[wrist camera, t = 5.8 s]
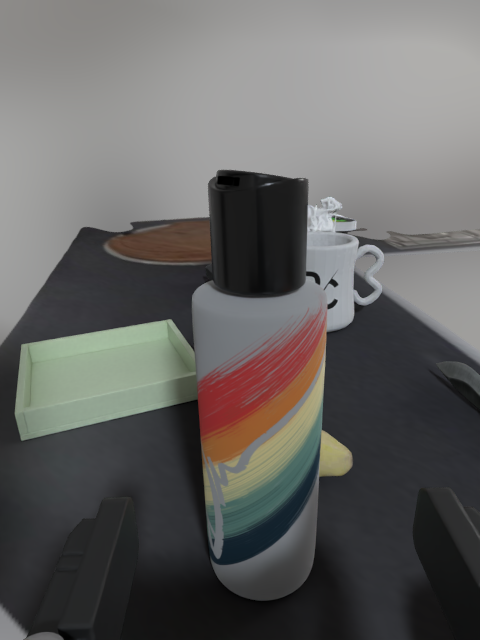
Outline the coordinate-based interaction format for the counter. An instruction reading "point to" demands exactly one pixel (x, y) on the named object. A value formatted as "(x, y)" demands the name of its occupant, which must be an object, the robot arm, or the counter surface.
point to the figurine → (322, 216)
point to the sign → (344, 223)
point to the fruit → (333, 457)
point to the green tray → (102, 377)
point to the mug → (340, 273)
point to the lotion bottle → (260, 384)
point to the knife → (463, 380)
